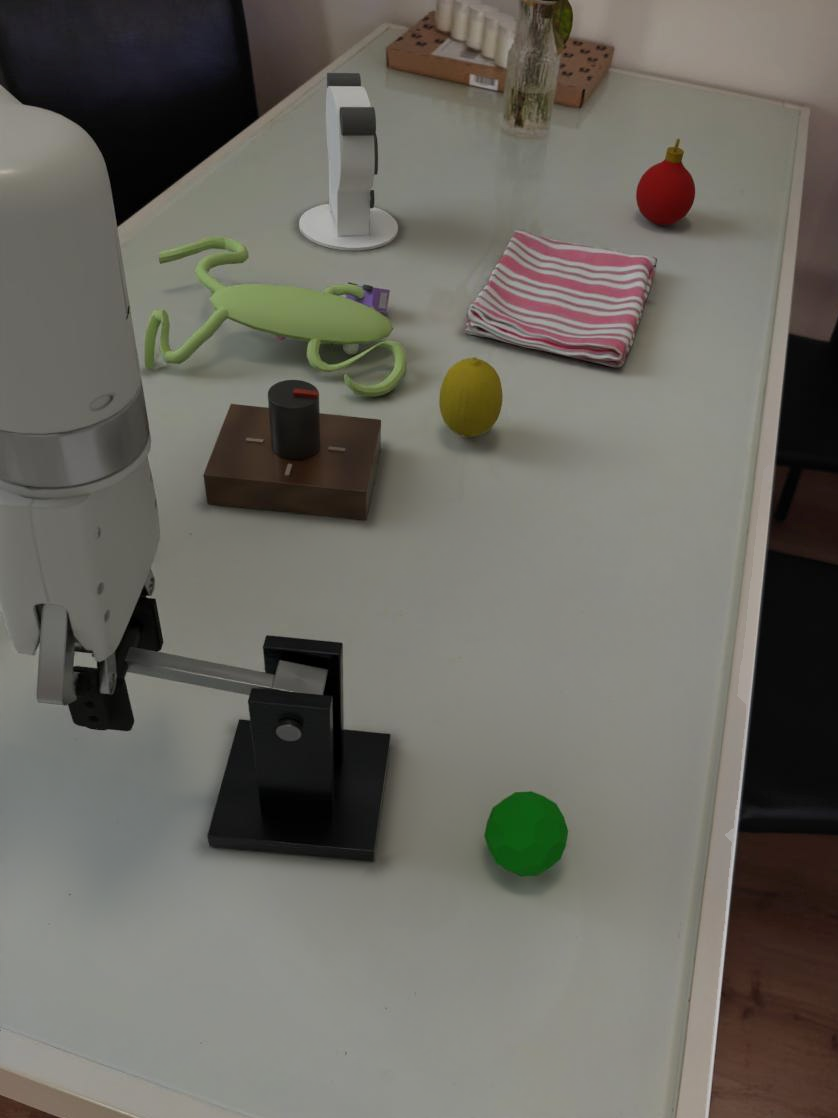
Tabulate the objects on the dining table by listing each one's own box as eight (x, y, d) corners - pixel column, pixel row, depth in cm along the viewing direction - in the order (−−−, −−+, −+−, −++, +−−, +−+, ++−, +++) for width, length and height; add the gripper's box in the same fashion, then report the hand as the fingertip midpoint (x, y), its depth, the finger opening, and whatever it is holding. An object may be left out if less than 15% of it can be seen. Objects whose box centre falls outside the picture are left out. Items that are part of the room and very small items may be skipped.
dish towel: (458, 339, 104) (461, 307, 102) (514, 242, 120) (518, 212, 118) (622, 376, 102) (629, 345, 100) (657, 273, 118) (664, 243, 115)
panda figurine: (407, 252, 116) (413, 112, 105) (306, 254, 113) (301, 111, 103) (388, 204, 124) (392, 69, 113) (293, 206, 121) (288, 68, 110)
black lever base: (208, 846, 62) (185, 725, 53) (240, 730, 68) (224, 604, 60) (373, 862, 62) (377, 744, 54) (390, 744, 69) (395, 621, 60)
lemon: (444, 413, 95) (450, 336, 89) (502, 425, 95) (512, 348, 89) (430, 448, 91) (435, 369, 86) (490, 460, 91) (500, 382, 85)
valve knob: (267, 457, 83) (262, 401, 80) (276, 428, 86) (272, 373, 82) (316, 462, 84) (314, 407, 80) (323, 433, 86) (322, 379, 82)
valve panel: (206, 504, 83) (202, 472, 81) (233, 432, 90) (230, 401, 88) (366, 520, 84) (366, 490, 82) (380, 447, 91) (381, 417, 88)
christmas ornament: (681, 240, 124) (702, 156, 117) (625, 227, 125) (642, 142, 118) (692, 217, 129) (712, 134, 122) (637, 204, 130) (654, 122, 123)
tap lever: (91, 702, 56) (89, 674, 54) (118, 636, 59) (117, 607, 57) (312, 744, 57) (318, 717, 56) (326, 676, 61) (332, 650, 59)
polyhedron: (522, 807, 66) (531, 763, 63) (577, 858, 64) (590, 815, 60) (465, 850, 63) (471, 807, 60) (520, 905, 61) (530, 863, 58)
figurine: (177, 273, 108) (170, 221, 104) (427, 309, 108) (430, 258, 104) (113, 367, 95) (103, 312, 91) (397, 408, 95) (399, 354, 91)
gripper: (40, 309, 51) (101, 574, 64) (-117, 537, 39) (-3, 802, 52) (192, 328, 51) (221, 588, 64) (81, 560, 39) (144, 818, 53)
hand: (120, 682), depth 58 cm, fingers closed on tap lever, 5 cm apart
